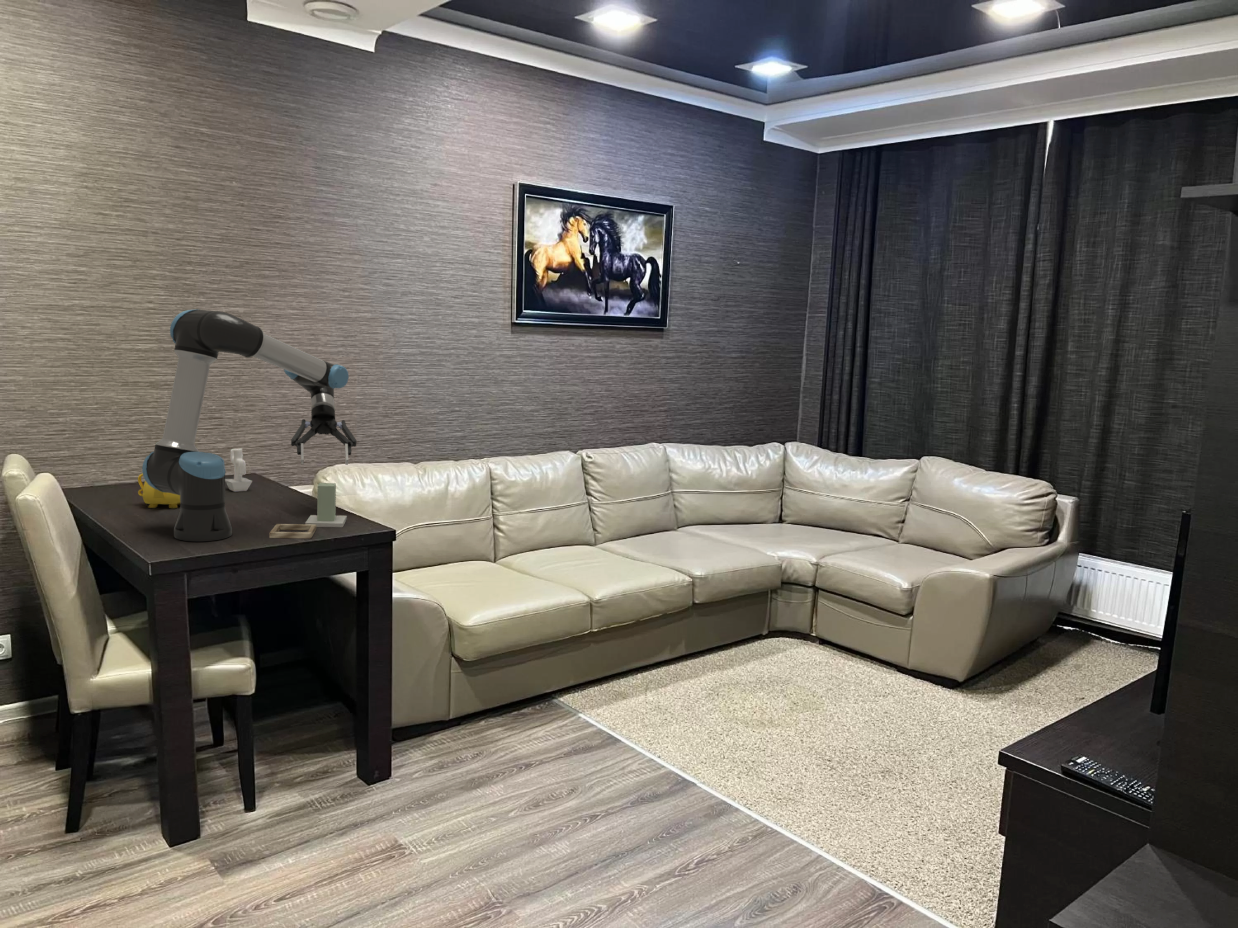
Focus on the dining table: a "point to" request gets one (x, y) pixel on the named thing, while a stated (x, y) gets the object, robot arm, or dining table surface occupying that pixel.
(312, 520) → the grey mat
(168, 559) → the dining table surface
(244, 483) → the figurine
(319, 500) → the sage block
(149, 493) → the teapot
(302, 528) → the board
